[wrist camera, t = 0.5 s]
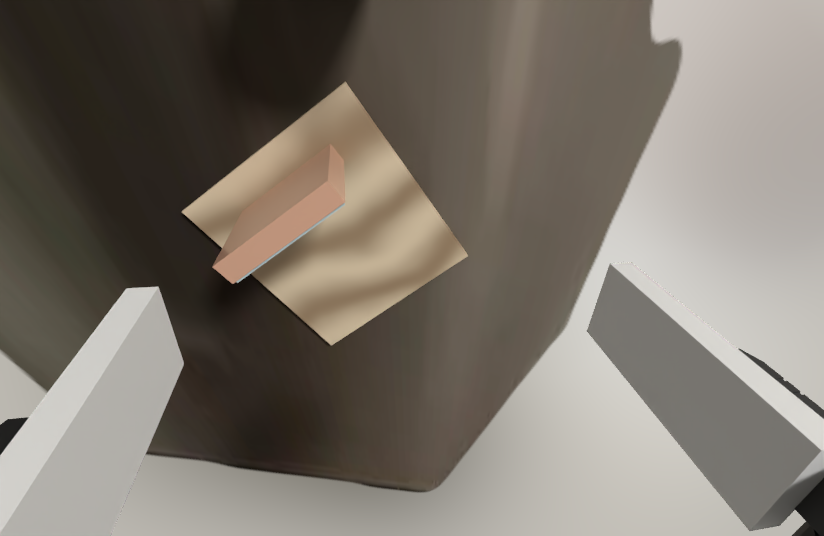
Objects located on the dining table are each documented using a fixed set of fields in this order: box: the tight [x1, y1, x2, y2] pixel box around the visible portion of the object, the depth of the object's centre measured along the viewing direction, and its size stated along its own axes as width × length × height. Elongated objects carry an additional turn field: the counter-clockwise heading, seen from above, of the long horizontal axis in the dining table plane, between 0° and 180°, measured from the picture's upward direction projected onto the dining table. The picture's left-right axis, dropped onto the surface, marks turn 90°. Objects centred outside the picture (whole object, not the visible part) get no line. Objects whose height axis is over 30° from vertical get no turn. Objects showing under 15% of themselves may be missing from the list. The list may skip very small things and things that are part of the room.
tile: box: [213, 144, 345, 284], centre depth 32 cm, size 2×10×10 cm, turn 124°
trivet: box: [182, 82, 468, 346], centre depth 39 cm, size 20×18×1 cm
